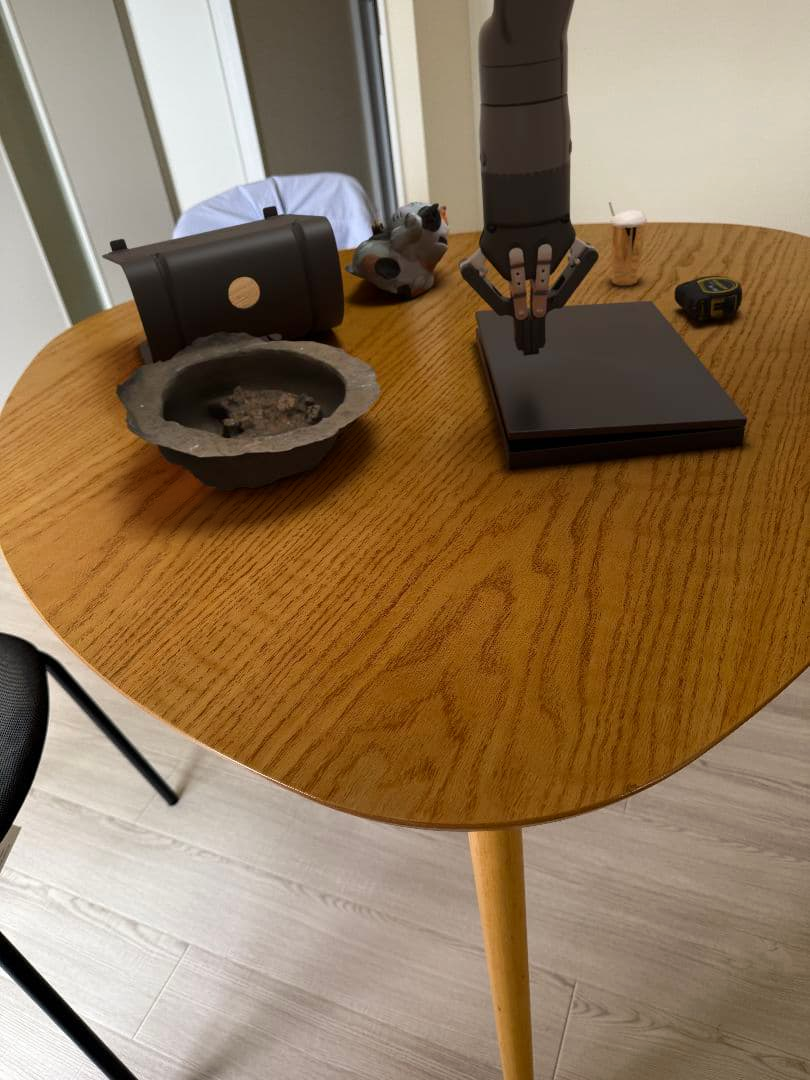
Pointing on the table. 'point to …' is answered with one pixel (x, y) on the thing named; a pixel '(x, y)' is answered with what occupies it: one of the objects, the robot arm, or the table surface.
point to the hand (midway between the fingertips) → (529, 351)
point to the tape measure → (709, 297)
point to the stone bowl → (247, 406)
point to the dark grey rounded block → (215, 262)
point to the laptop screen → (602, 375)
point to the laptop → (601, 439)
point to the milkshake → (627, 245)
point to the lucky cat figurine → (404, 250)
